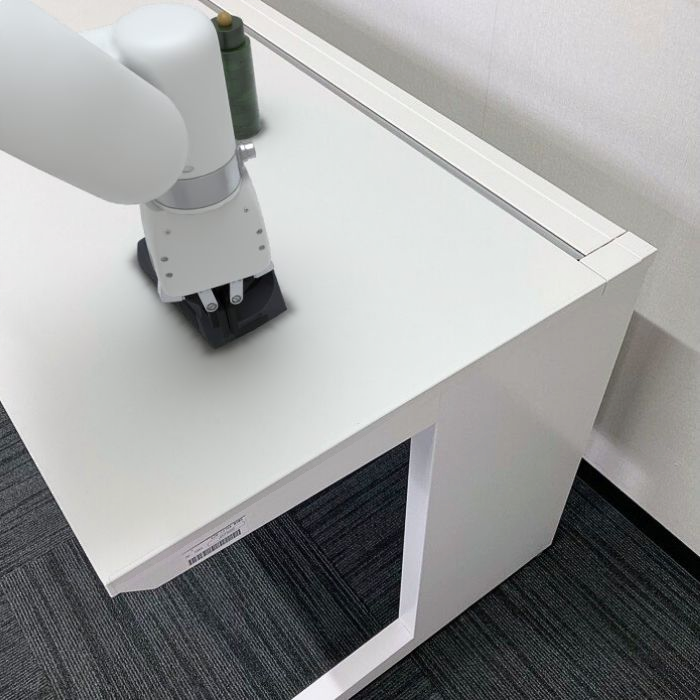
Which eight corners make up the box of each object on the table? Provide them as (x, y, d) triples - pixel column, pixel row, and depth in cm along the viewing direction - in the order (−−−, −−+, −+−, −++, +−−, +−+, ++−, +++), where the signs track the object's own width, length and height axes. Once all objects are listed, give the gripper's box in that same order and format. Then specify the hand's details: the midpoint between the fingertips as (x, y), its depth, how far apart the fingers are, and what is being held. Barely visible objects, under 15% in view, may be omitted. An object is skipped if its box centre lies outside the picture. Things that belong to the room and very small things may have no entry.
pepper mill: (226, 143, 101) (207, 26, 89) (214, 122, 104) (194, 7, 92) (266, 133, 102) (253, 17, 90) (253, 112, 106) (238, -2, 94)
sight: (200, 224, 90) (184, 151, 82) (288, 310, 80) (279, 236, 72) (129, 258, 86) (105, 184, 78) (212, 352, 76) (195, 279, 69)
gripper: (266, 124, 65) (286, 280, 79) (90, 169, 61) (143, 324, 75) (296, 172, 60) (312, 329, 74) (108, 224, 57) (161, 378, 71)
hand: (227, 326), depth 75 cm, fingers closed
